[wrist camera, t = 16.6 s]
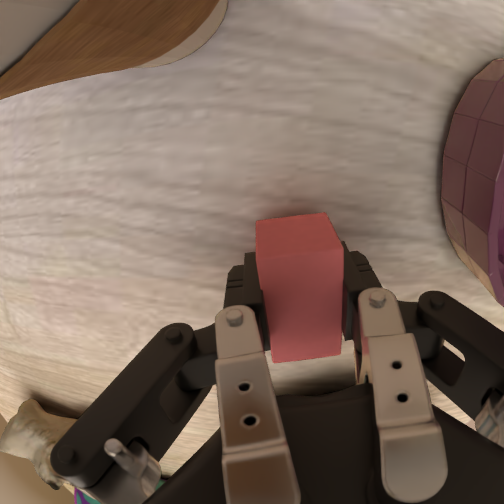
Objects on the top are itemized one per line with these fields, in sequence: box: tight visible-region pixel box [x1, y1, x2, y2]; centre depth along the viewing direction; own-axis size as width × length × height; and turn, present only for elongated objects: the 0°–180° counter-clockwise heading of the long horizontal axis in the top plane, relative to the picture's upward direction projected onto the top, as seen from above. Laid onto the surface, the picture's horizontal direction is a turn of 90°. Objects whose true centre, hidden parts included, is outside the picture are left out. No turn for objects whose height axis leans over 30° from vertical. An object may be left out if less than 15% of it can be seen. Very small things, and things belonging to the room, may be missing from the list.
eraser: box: [256, 212, 344, 363], centre depth 12 cm, size 5×3×3 cm, turn 9°
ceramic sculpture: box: [0, 399, 78, 490], centre depth 21 cm, size 11×9×15 cm
